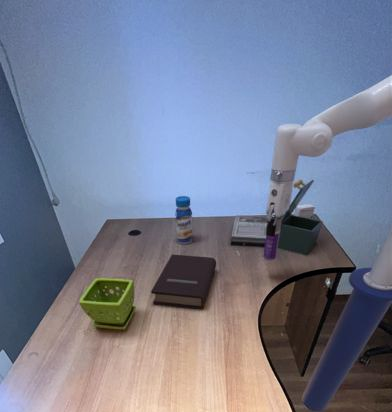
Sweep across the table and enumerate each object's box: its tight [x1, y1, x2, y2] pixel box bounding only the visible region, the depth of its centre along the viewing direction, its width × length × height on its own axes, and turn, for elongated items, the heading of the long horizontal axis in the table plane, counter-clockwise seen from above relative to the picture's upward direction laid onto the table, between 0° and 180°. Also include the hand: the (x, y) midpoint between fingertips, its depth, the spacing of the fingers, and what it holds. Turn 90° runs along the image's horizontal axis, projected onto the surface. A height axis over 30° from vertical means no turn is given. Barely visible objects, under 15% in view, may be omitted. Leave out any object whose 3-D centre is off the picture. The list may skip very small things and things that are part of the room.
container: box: [263, 216, 282, 261], centre depth 99 cm, size 5×5×15 cm
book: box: [150, 254, 217, 310], centre depth 105 cm, size 28×20×6 cm
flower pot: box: [78, 277, 137, 331], centre depth 89 cm, size 14×14×13 cm
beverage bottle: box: [174, 195, 194, 245], centre depth 129 cm, size 8×8×20 cm
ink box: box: [293, 203, 316, 219], centre depth 138 cm, size 8×5×12 cm, turn 105°
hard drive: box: [230, 214, 267, 248], centre depth 138 cm, size 18×27×4 cm
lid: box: [282, 179, 315, 221], centre depth 118 cm, size 16×14×5 cm
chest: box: [277, 214, 323, 256], centre depth 126 cm, size 16×14×11 cm
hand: (273, 232), depth 97 cm, fingers closed on container, 4 cm apart
